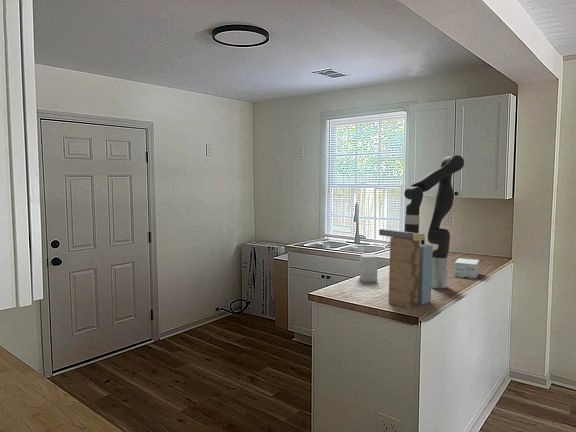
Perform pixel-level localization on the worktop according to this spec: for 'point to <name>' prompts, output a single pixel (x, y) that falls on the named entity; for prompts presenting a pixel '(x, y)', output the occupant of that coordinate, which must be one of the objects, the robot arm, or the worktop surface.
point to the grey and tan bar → (402, 234)
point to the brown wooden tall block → (404, 271)
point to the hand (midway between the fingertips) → (410, 252)
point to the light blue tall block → (425, 274)
